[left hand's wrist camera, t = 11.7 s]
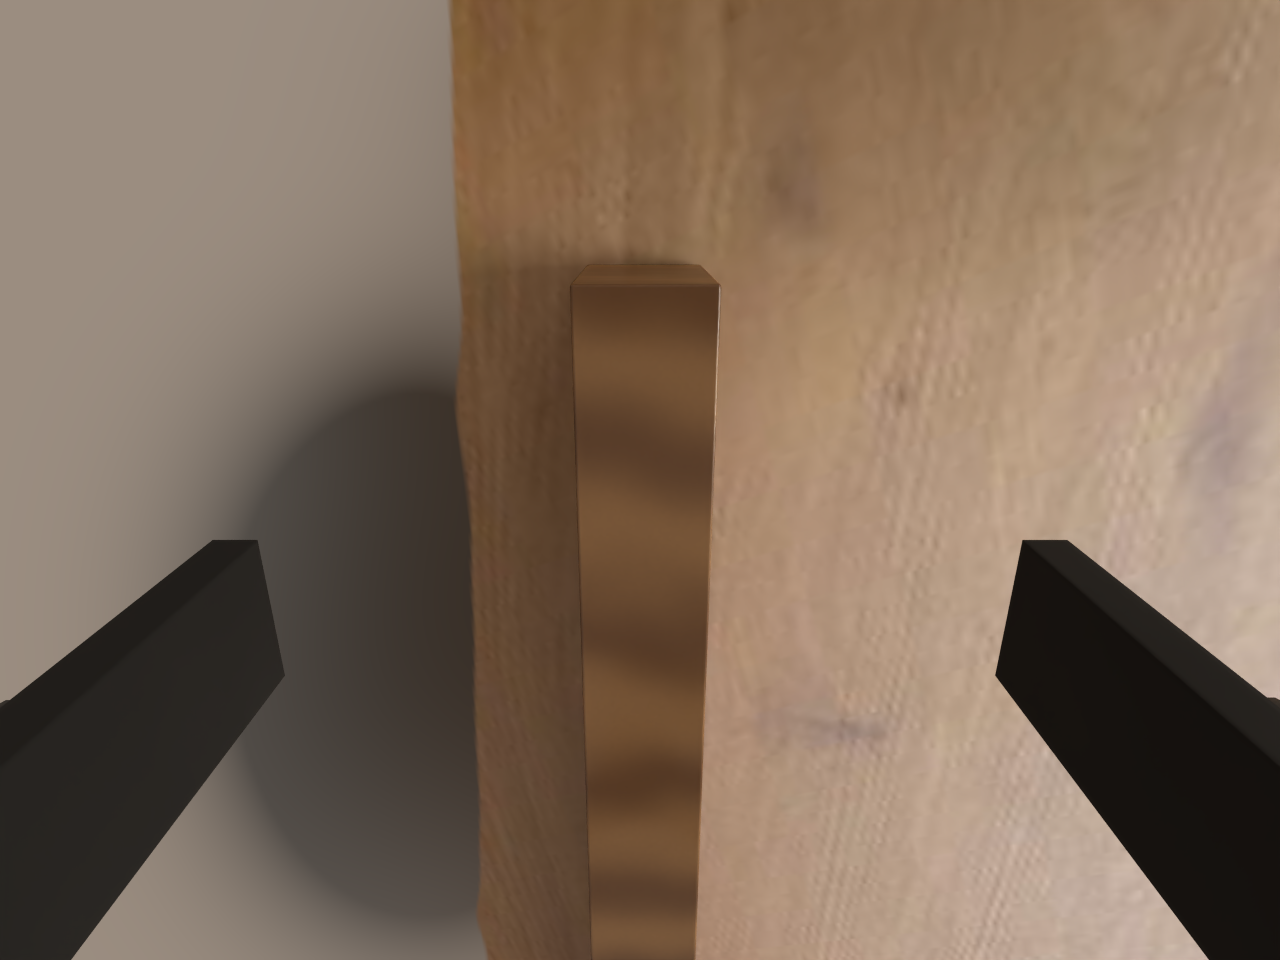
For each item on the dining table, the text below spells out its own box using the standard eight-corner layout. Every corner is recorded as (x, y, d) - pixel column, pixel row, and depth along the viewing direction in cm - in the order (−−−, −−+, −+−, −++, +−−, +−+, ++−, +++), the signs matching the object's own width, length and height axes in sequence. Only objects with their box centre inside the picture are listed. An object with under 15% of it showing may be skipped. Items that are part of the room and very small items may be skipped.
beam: (586, 264, 32) (569, 284, 24) (701, 264, 32) (721, 284, 24) (605, 1055, 50) (599, 1213, 43) (678, 1055, 50) (685, 1213, 43)
